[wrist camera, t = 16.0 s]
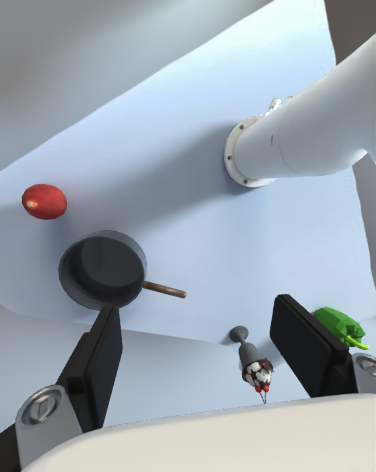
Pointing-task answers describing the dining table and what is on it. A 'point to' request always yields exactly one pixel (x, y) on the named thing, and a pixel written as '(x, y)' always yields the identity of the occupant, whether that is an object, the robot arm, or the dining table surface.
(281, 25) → the dining table surface
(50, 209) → the onion
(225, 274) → the dining table surface
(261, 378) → the sundae
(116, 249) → the pan
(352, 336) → the bell pepper
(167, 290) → the pan handle
